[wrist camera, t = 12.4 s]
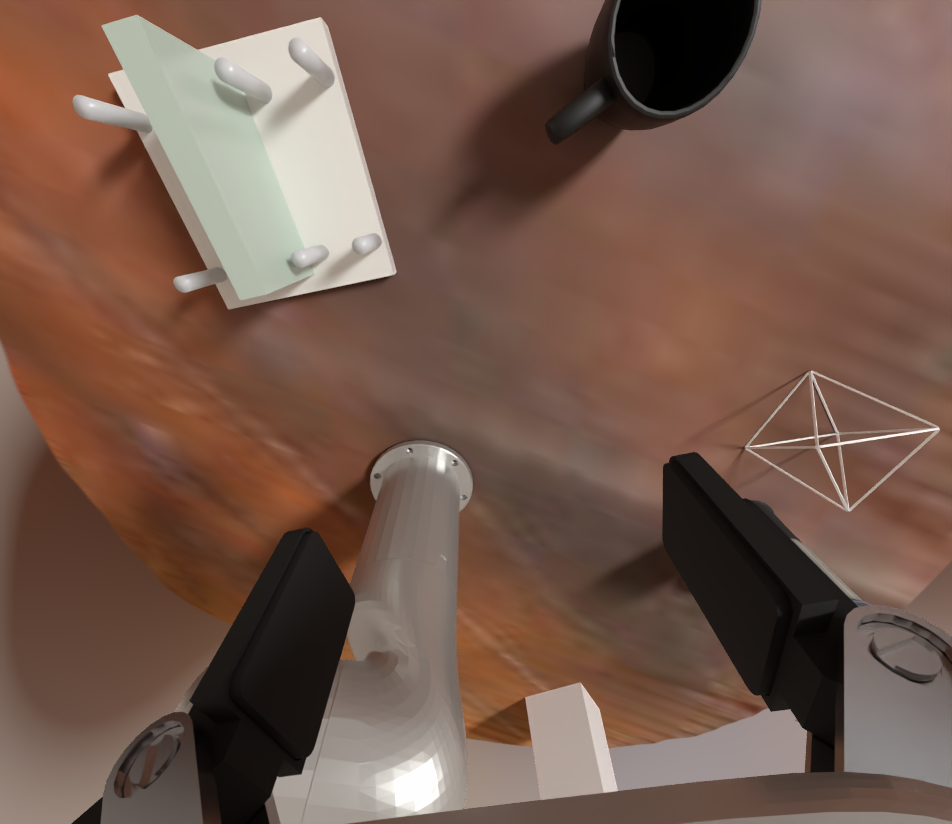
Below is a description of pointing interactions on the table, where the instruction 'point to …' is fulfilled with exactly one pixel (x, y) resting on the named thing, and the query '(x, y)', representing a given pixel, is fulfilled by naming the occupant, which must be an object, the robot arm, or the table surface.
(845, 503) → the geometric polyhedron
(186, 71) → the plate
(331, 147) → the dish rack
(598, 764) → the milk
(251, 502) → the table surface
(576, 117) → the mug
